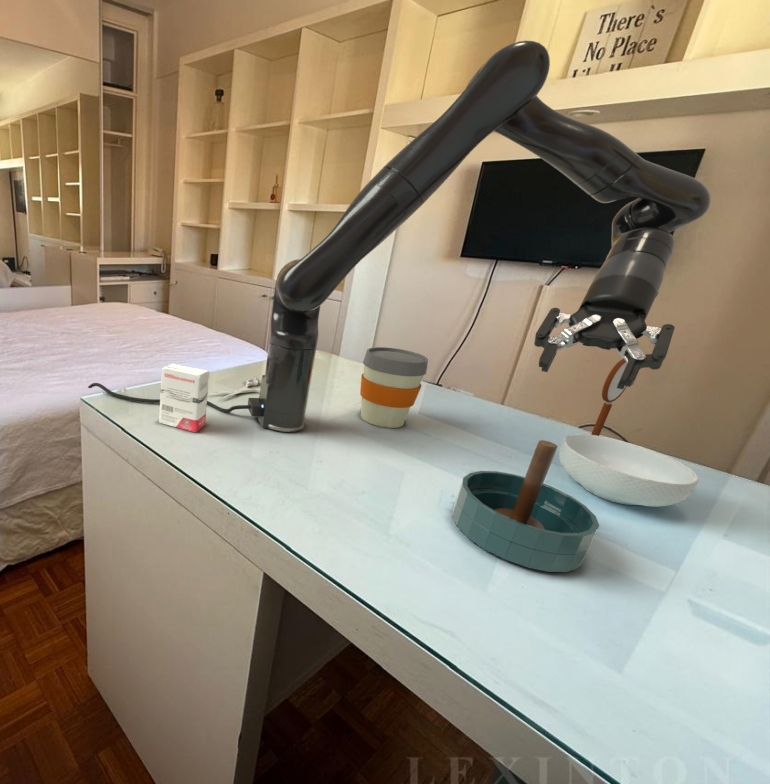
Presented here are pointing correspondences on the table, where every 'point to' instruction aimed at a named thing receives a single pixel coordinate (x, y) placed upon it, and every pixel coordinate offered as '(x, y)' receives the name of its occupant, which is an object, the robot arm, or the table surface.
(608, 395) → the magnifying glass
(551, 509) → the mixing bowl
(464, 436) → the table surface
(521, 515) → the wooden peg stand
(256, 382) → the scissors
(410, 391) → the reusable coffee cup
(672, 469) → the cereal bowl
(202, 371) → the ink box
